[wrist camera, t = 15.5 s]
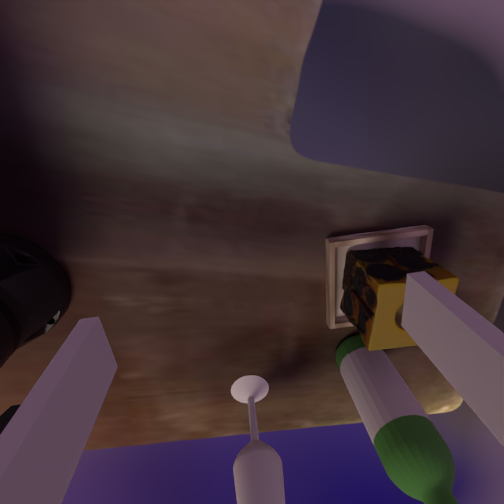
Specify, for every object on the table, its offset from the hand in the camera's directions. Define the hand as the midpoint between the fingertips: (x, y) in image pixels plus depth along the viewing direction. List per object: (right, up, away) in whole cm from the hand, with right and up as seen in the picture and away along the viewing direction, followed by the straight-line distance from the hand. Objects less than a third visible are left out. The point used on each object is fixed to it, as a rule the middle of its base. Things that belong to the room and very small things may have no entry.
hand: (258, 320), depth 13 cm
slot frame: (+18, -1, +34) cm, 38 cm away
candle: (+18, -1, +33) cm, 38 cm away
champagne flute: (-1, -21, +41) cm, 46 cm away
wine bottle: (+17, -14, +40) cm, 45 cm away
